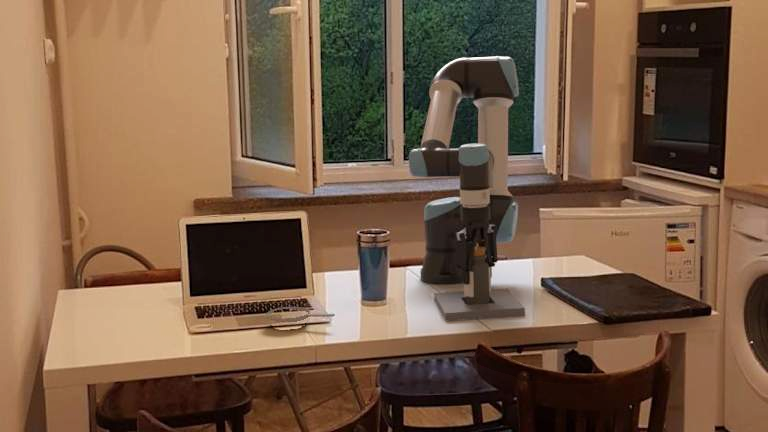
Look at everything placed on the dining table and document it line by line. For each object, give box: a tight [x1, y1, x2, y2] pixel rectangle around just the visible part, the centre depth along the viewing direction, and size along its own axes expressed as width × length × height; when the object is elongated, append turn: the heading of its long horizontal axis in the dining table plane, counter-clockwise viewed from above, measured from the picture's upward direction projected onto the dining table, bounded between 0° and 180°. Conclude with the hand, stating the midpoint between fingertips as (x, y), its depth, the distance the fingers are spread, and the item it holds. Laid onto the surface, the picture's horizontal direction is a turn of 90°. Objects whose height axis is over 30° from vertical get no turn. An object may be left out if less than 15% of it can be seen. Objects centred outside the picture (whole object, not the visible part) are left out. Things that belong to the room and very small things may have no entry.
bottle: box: [466, 245, 490, 305], centre depth 255 cm, size 6×6×15 cm
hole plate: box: [433, 288, 526, 321], centre depth 257 cm, size 20×20×2 cm
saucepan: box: [266, 306, 336, 323], centre depth 247 cm, size 11×18×4 cm, turn 68°
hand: (477, 293), depth 256 cm, fingers closed on bottle, 6 cm apart
